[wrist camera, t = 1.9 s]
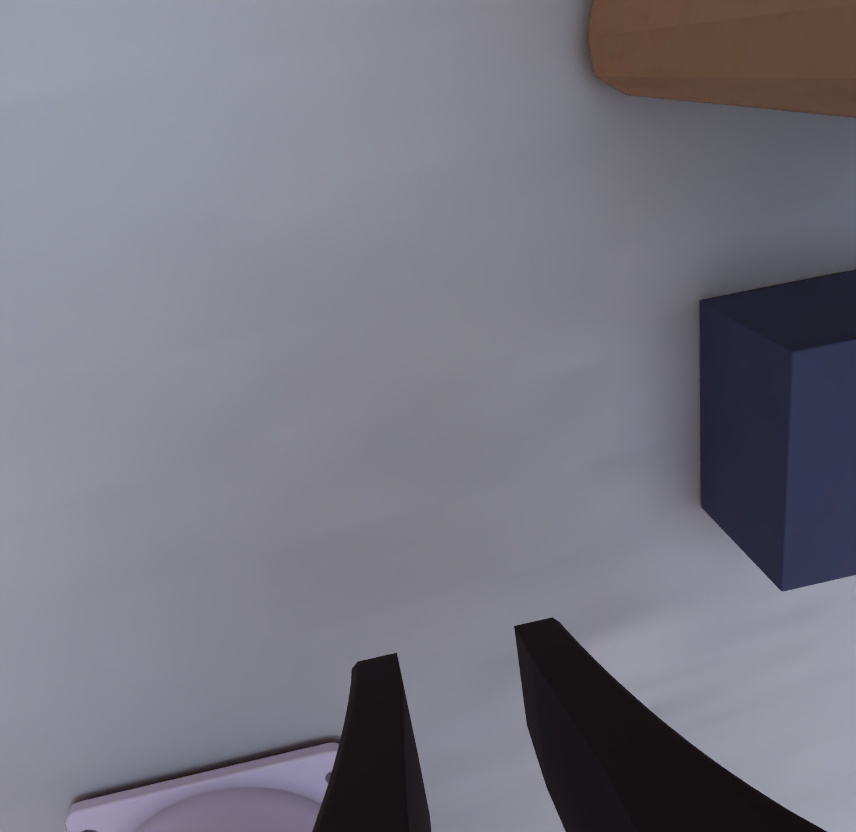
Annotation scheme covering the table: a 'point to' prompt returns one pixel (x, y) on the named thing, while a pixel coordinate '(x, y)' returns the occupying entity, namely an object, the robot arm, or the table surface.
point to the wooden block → (730, 52)
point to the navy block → (783, 426)
